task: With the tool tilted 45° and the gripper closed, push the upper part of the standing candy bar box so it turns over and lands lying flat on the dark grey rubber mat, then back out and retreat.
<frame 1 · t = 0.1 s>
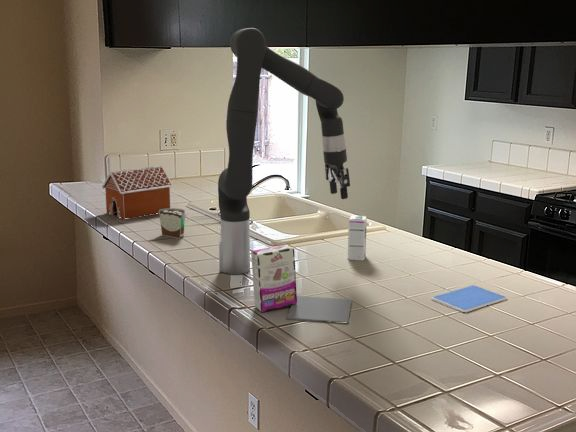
hand: (339, 196, 209), 22 cm above the worktop, tool pointing down, fingers open, 8 cm apart
syrup box: (356, 258, 217), on the worktop
food container: (176, 235, 242), on the worktop
gingerbread house: (139, 213, 276), on the worktop
tablet computer: (469, 301, 181), on the worktop
mat: (320, 309, 171), on the worktop
candy bar box: (275, 306, 173), on the worktop, touching mat
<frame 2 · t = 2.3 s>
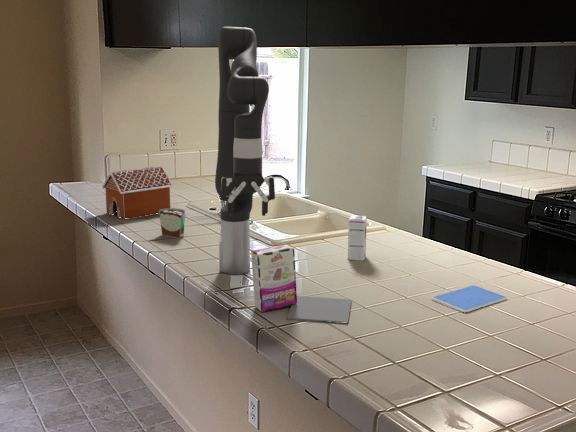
hand: (247, 215, 167), 26 cm above the worktop, tool pointing down, fingers open, 8 cm apart
nothing on the worktop moved.
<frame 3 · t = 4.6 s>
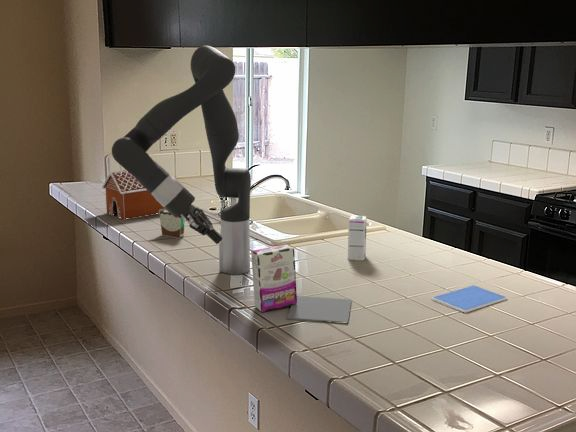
hand: (220, 241, 168), 19 cm above the worktop, tool tilted 45°, fingers closed
nothing on the worktop moved.
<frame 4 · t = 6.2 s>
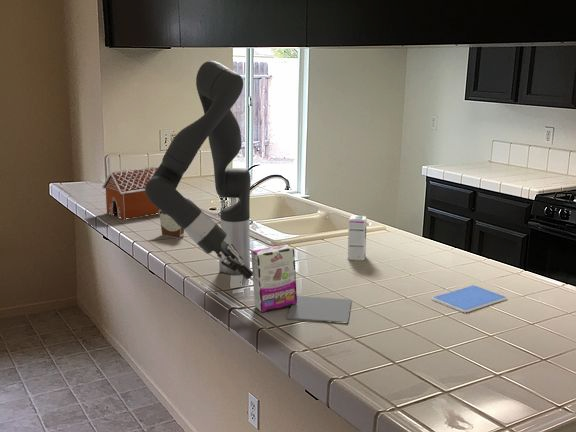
hand: (250, 276, 170), 9 cm above the worktop, tool tilted 45°, fingers closed
candy bar box: (275, 306, 173), on the worktop, touching gripper, mat
everything else where it was.
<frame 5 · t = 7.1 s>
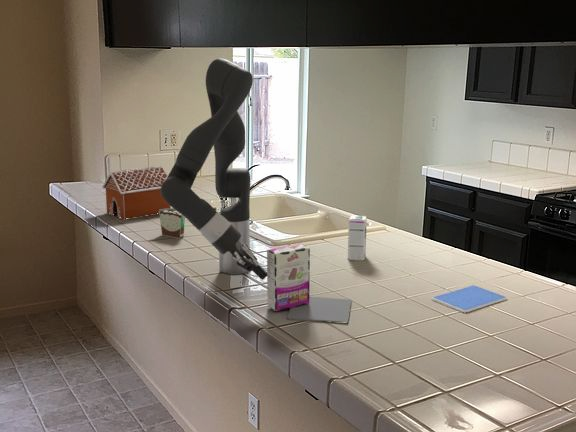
hand: (265, 276, 170), 9 cm above the worktop, tool tilted 45°, fingers closed
candy bar box: (288, 305, 173), on the worktop, touching gripper, mat
everything else where it was.
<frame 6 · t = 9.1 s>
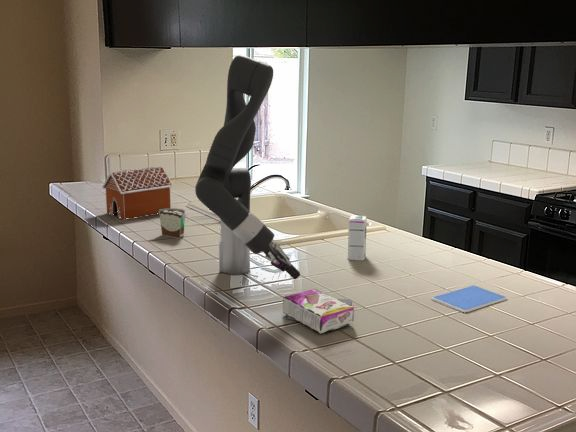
hand: (297, 276, 171), 9 cm above the worktop, tool tilted 45°, fingers closed
candy bar box: (298, 299, 170), point 3 cm above the worktop, touching mat
everything else where it was.
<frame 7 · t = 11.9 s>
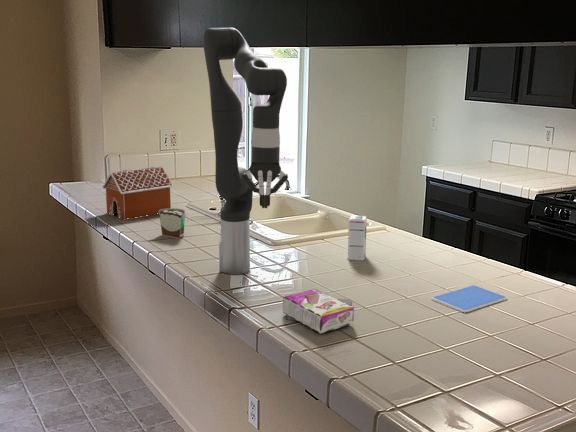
hand: (264, 207, 171), 27 cm above the worktop, tool pointing down, fingers closed
nothing on the worktop moved.
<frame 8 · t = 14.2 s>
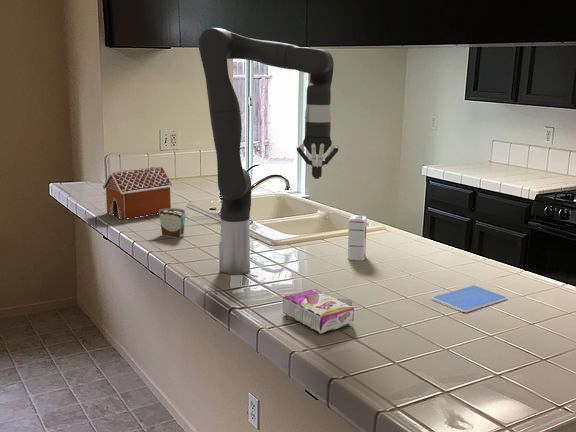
hand: (316, 178, 187), 32 cm above the worktop, tool pointing down, fingers closed
nothing on the worktop moved.
at the end: candy bar box tilted 90°; candy bar box inside the target area (4.7 cm from its centre), point 3.0 cm above the worktop; the gripper is holding nothing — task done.
